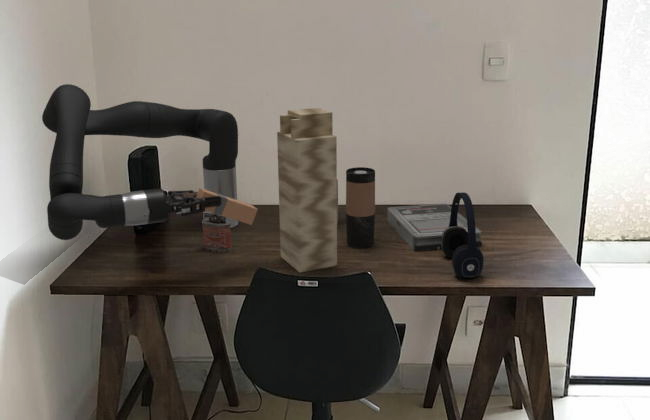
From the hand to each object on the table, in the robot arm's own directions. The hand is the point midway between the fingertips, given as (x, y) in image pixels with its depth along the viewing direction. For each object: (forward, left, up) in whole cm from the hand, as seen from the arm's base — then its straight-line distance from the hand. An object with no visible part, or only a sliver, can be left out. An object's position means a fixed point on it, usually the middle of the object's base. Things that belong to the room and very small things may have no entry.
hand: (217, 198), depth 163 cm
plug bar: (+1, +1, -4) cm, 4 cm away
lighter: (-12, +11, -19) cm, 25 cm away
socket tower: (+13, +17, -18) cm, 29 cm away
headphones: (+46, +35, -19) cm, 61 cm away
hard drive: (+29, +54, -19) cm, 64 cm away
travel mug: (+17, +35, -19) cm, 44 cm away
